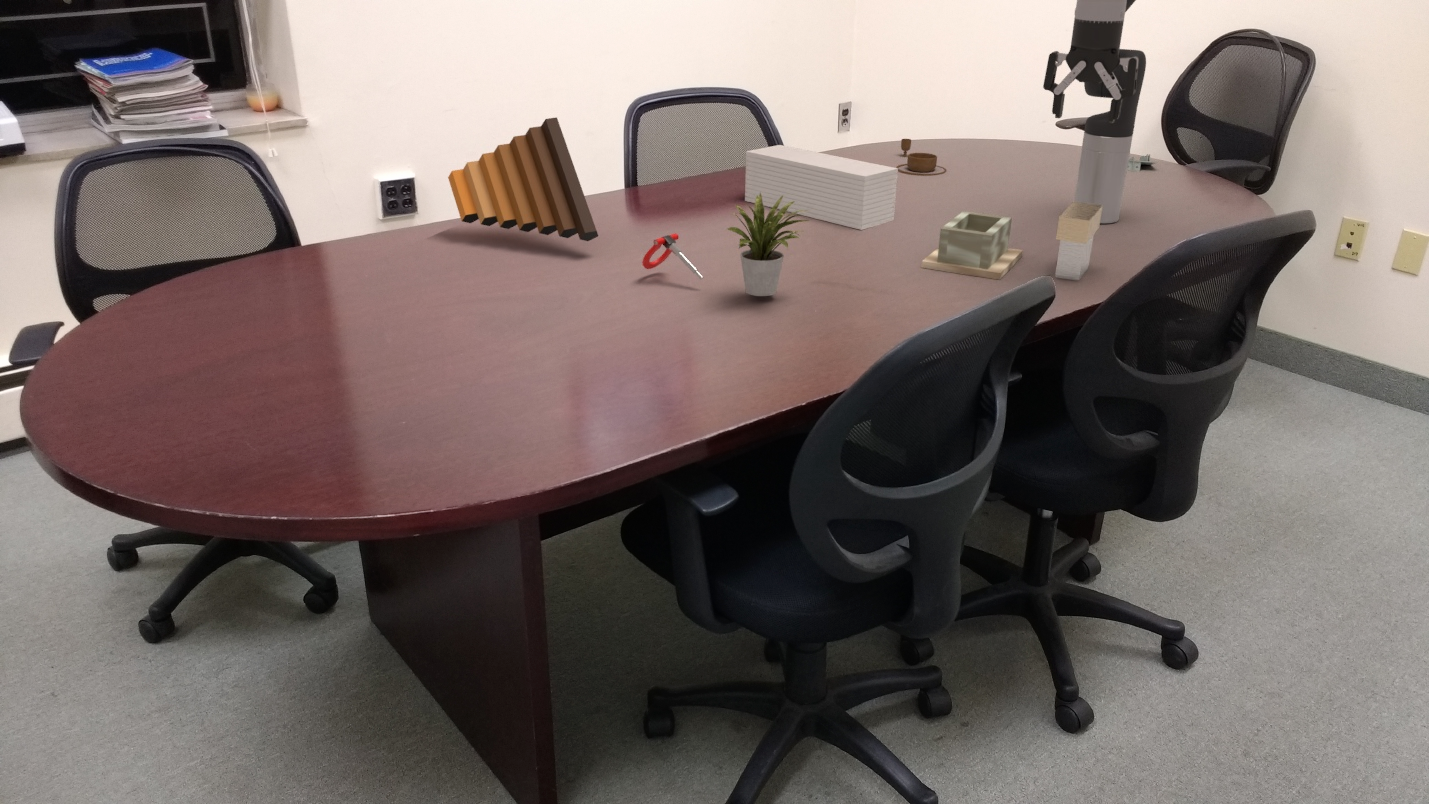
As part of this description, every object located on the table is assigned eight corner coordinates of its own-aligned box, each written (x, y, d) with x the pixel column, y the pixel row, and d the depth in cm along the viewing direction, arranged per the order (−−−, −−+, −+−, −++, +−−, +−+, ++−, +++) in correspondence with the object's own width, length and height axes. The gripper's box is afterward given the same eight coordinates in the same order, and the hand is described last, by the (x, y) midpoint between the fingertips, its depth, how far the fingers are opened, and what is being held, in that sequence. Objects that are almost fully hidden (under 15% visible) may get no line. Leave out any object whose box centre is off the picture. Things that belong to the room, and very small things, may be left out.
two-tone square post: (1064, 261, 200) (1073, 201, 195) (1092, 265, 198) (1102, 205, 193) (1050, 279, 190) (1059, 216, 185) (1079, 283, 188) (1089, 220, 183)
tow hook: (661, 260, 195) (678, 230, 190) (698, 300, 192) (716, 271, 187) (635, 269, 190) (651, 238, 185) (673, 310, 187) (690, 280, 182)
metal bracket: (1168, 154, 260) (1102, 151, 263) (1165, 179, 261) (1099, 175, 263) (1153, 159, 274) (1091, 156, 277) (1151, 183, 275) (1089, 180, 277)
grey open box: (947, 245, 208) (951, 208, 205) (1021, 256, 202) (1027, 218, 199) (921, 267, 195) (924, 227, 192) (999, 279, 189) (1004, 239, 186)
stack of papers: (893, 220, 225) (898, 168, 221) (861, 230, 218) (865, 176, 214) (777, 193, 246) (779, 144, 241) (744, 201, 239) (746, 151, 234)
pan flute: (601, 234, 202) (562, 121, 209) (593, 228, 198) (553, 114, 206) (488, 292, 208) (454, 181, 215) (479, 287, 205) (444, 175, 212)
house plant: (775, 313, 172) (779, 210, 165) (701, 297, 178) (702, 198, 171) (817, 289, 183) (822, 192, 176) (745, 275, 189) (748, 181, 183)
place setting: (878, 176, 263) (879, 152, 261) (898, 161, 280) (900, 138, 278) (950, 184, 257) (953, 159, 255) (966, 168, 274) (969, 144, 272)
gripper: (1150, 16, 174) (1133, 120, 181) (1059, 11, 181) (1046, 112, 188) (1142, 21, 168) (1125, 128, 175) (1048, 16, 175) (1035, 119, 182)
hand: (1084, 119), depth 181 cm, fingers open, 8 cm apart
